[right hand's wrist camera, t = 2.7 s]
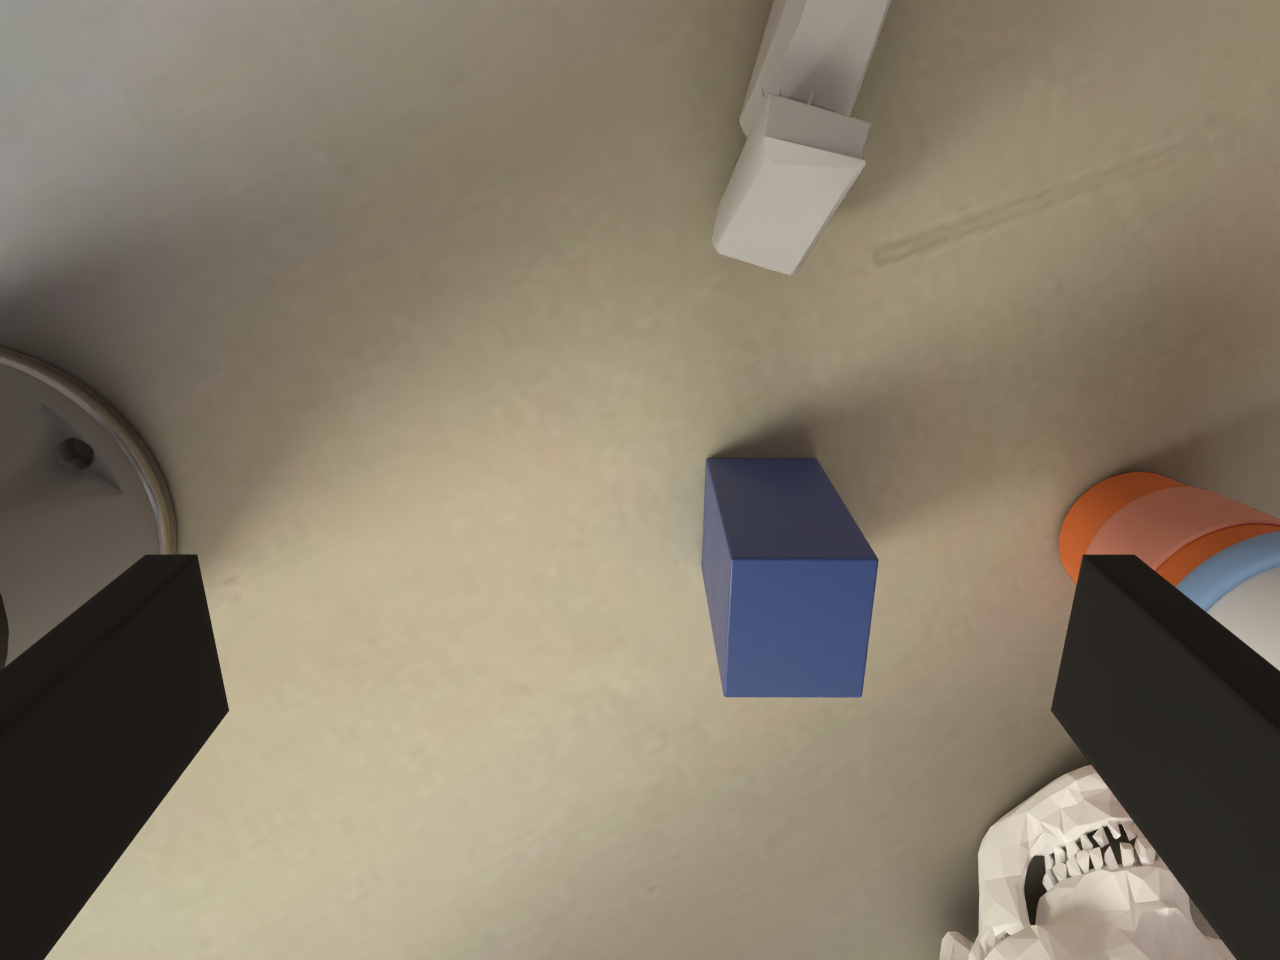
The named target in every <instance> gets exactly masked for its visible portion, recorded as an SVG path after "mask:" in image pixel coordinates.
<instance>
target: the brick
mask: <svg viewBox="0 0 1280 960" xmlns="http://www.w3.org/2000/svg"><path fill="white" fill-rule="evenodd" d="M877 568H878V558H877V556H876V555H875V553H874V552H873V550H872V548H871V547H870V545H869V543H868V542H867V540H866V539H865V537H864V535H863V534H862V532H861V530H860V529H859V527H858V526H857V524H856V522H855V521H854V519H853V517H852V516H851V514H850V512H849V511H848V509H847V508H846V506H845V504H844V503H843V501H842V499H841V498H840V496H839V495H838V493H837V491H836V490H835V488H834V486H833V485H832V483H831V482H830V480H829V478H828V477H827V475H826V473H825V472H824V470H823V468H822V467H821V465H820V464H819V462H818V460H817V459H781V458H707V459H706V471H705V497H704V522H703V548H702V572H703V578H704V584H705V590H706V596H707V601H708V607H709V613H710V619H711V625H712V630H713V636H714V642H715V648H716V654H717V660H718V665H719V671H720V677H721V683H722V689H723V694H724V696H725V697H861V696H862V691H863V683H864V675H865V667H866V658H867V650H868V642H869V634H870V626H871V617H872V609H873V601H874V593H875V584H876V576H877Z"/></svg>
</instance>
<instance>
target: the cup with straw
mask: <svg viewBox="0 0 1280 960" xmlns="http://www.w3.org/2000/svg"><path fill="white" fill-rule="evenodd" d="M1059 554H1060V558H1061V561H1062V564H1063V566H1064V568H1065V570H1066V572H1067V573H1068V574H1069V576H1070V577H1071V579H1072V580H1073V581H1074V583H1075V584H1076V585H1077V581H1078V576H1079V571H1080V566H1081V561H1082V556H1083V555H1136V556H1137V557H1138V558H1140V559H1141V560H1142V561H1143V562H1145V563H1146V564H1147V565H1148V566H1150V567H1151V568H1152V569H1153V570H1154V571H1156V572H1157V573H1158V574H1159V575H1161V576H1162V577H1163V578H1164V579H1166V580H1167V581H1168V582H1169V583H1171V584H1172V585H1173V586H1174V587H1176V588H1177V589H1178V590H1179V591H1181V592H1182V593H1183V594H1184V595H1186V596H1187V597H1188V598H1189V599H1191V600H1192V601H1193V602H1194V603H1196V604H1197V605H1198V606H1199V607H1201V608H1202V609H1203V610H1204V611H1206V612H1207V613H1208V614H1209V615H1211V616H1212V617H1213V618H1214V619H1216V620H1217V621H1218V622H1219V623H1221V624H1222V625H1223V626H1224V627H1226V628H1227V629H1228V630H1229V631H1231V632H1232V633H1233V634H1234V635H1236V636H1237V637H1238V638H1239V639H1241V640H1242V641H1243V642H1244V643H1246V644H1247V645H1248V646H1249V647H1251V648H1252V649H1253V650H1254V651H1256V652H1257V653H1258V654H1259V655H1261V656H1262V657H1263V658H1264V659H1266V660H1267V661H1268V662H1269V663H1271V664H1272V665H1273V666H1274V667H1275V668H1277V669H1278V670H1279V671H1280V520H1279V519H1277V518H1275V517H1272V516H1270V515H1268V514H1265V513H1263V512H1260V511H1258V510H1256V509H1253V508H1251V507H1248V506H1246V505H1244V504H1241V503H1239V502H1236V501H1234V500H1232V499H1229V498H1227V497H1224V496H1222V495H1220V494H1217V493H1215V492H1212V491H1209V490H1205V489H1201V488H1194V487H1189V486H1187V485H1184V484H1182V483H1180V482H1177V481H1175V480H1172V479H1170V478H1168V477H1165V476H1162V475H1159V474H1155V473H1148V472H1131V473H1124V474H1120V475H1116V476H1113V477H1111V478H1108V479H1106V480H1104V481H1102V482H1100V483H1098V484H1096V485H1095V486H1093V487H1092V488H1090V489H1089V490H1088V491H1087V492H1085V493H1084V494H1083V495H1082V496H1081V497H1080V498H1079V499H1078V500H1077V501H1076V502H1075V503H1074V505H1073V506H1072V507H1071V509H1070V510H1069V512H1068V513H1067V515H1066V517H1065V519H1064V522H1063V524H1062V527H1061V530H1060V535H1059Z"/></svg>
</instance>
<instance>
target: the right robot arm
mask: <svg viewBox="0 0 1280 960" xmlns="http://www.w3.org/2000/svg"><path fill="white" fill-rule="evenodd" d="M176 544H177V539H176V522H175V515H174V510H173V506H172V502H171V498H170V495H169V492H168V489H167V486H166V483H165V481H164V479H163V476H162V474H161V472H160V470H159V468H158V466H157V464H156V462H155V460H154V459H153V457H152V455H151V453H150V452H149V450H148V449H147V447H146V446H145V444H144V443H143V442H142V440H141V439H140V437H139V436H138V435H137V434H136V432H135V431H134V430H133V429H132V427H131V426H130V425H129V424H128V423H127V422H126V421H125V419H124V418H123V417H122V416H121V415H120V414H119V413H118V412H117V411H116V410H115V409H114V408H113V407H112V406H110V405H109V404H108V403H107V402H106V401H105V400H104V399H103V398H101V397H100V396H99V395H98V394H96V393H95V392H94V391H92V390H91V389H90V388H88V387H87V386H86V385H84V384H83V383H81V382H80V381H78V380H76V379H75V378H73V377H72V376H70V375H69V374H67V373H65V372H63V371H61V370H59V369H57V368H56V367H54V366H52V365H50V364H47V363H45V362H43V361H40V360H38V359H36V358H34V357H31V356H28V355H25V354H22V353H19V352H16V351H13V350H9V349H5V348H1V347H0V960H44V959H45V957H46V956H47V955H48V953H49V952H50V951H51V949H52V948H53V947H54V945H55V944H56V943H57V941H58V940H59V939H60V937H61V936H62V934H63V933H64V932H65V930H66V929H67V928H68V926H69V925H70V924H71V922H72V921H73V920H74V918H75V917H76V916H77V914H78V913H79V912H80V910H81V909H82V908H83V906H84V905H85V904H86V902H87V901H88V900H89V898H90V897H91V895H92V894H93V893H94V891H95V890H96V889H97V887H98V886H99V885H100V883H101V882H102V881H103V879H104V878H105V877H106V875H107V874H108V873H109V871H110V870H111V869H112V867H113V866H114V865H115V863H116V862H117V861H118V859H119V858H120V857H121V855H122V854H123V852H124V851H125V850H126V848H127V847H128V846H129V844H130V843H131V842H132V840H133V839H134V838H135V836H136V835H137V834H138V832H139V831H140V830H141V828H142V827H143V826H144V824H145V823H146V822H147V820H148V819H149V818H150V816H151V815H152V813H153V812H154V811H155V809H156V808H157V807H158V805H159V804H160V803H161V801H162V800H163V799H164V797H165V796H166V795H167V793H168V792H169V791H170V789H171V788H172V787H173V785H174V784H175V783H176V781H177V780H178V779H179V777H180V776H181V774H182V773H183V772H184V770H185V769H186V768H187V766H188V765H189V764H190V762H191V761H192V760H193V758H194V757H195V756H196V754H197V753H198V752H199V750H200V749H201V748H202V746H203V745H204V744H205V742H206V741H207V740H208V738H209V737H210V736H211V734H212V733H213V731H214V730H215V729H216V727H217V726H218V725H219V723H220V722H221V721H222V719H223V718H224V717H225V715H226V714H227V713H228V711H229V708H228V703H227V698H226V693H225V688H224V684H223V679H222V674H221V669H220V664H219V659H218V654H217V649H216V644H215V639H214V635H213V630H212V625H211V620H210V615H209V610H208V605H207V600H206V595H205V591H204V586H203V581H202V576H201V571H200V566H199V561H198V556H197V555H176ZM1051 711H1052V713H1053V714H1054V715H1055V717H1056V718H1057V719H1058V721H1059V722H1060V723H1061V725H1062V726H1063V727H1064V729H1065V730H1066V731H1067V733H1068V734H1069V736H1070V737H1071V738H1072V740H1073V741H1074V742H1075V744H1076V745H1077V746H1078V748H1079V749H1080V750H1081V752H1082V753H1083V754H1084V756H1085V757H1086V758H1087V760H1088V761H1089V762H1090V764H1091V765H1092V766H1093V768H1094V769H1095V770H1096V772H1097V773H1098V774H1099V776H1100V777H1101V779H1102V780H1103V781H1104V783H1105V784H1106V785H1107V787H1108V788H1109V789H1110V791H1111V792H1112V793H1113V795H1114V796H1115V797H1116V799H1117V800H1118V801H1119V803H1120V804H1121V805H1122V807H1123V808H1124V809H1125V811H1126V812H1127V813H1128V815H1129V816H1130V818H1131V819H1132V820H1133V822H1134V823H1135V824H1136V826H1137V827H1138V828H1139V830H1140V831H1141V832H1142V834H1143V835H1144V836H1145V838H1146V839H1147V840H1148V842H1149V843H1150V844H1151V846H1152V847H1153V848H1154V850H1155V851H1156V852H1157V854H1158V855H1159V857H1160V858H1161V859H1162V861H1163V862H1164V863H1165V865H1166V866H1167V867H1168V869H1169V870H1170V871H1171V873H1172V874H1173V875H1174V877H1175V878H1176V879H1177V881H1178V882H1179V883H1180V885H1181V886H1182V887H1183V889H1184V890H1185V891H1186V893H1187V894H1188V895H1189V897H1190V898H1191V900H1192V901H1193V902H1194V904H1195V905H1196V906H1197V908H1198V909H1199V910H1200V912H1201V913H1202V914H1203V916H1204V917H1205V918H1206V920H1207V921H1208V922H1209V924H1210V925H1211V926H1212V928H1213V929H1214V930H1215V932H1216V933H1217V934H1218V936H1219V937H1220V939H1221V940H1222V941H1223V943H1224V944H1225V945H1226V947H1227V948H1228V949H1229V951H1230V952H1231V953H1232V955H1233V956H1234V957H1235V959H1236V960H1280V671H1279V670H1278V669H1277V668H1275V667H1274V666H1273V665H1272V664H1271V663H1269V662H1268V661H1267V660H1266V659H1264V658H1263V657H1262V656H1261V655H1259V654H1258V653H1257V652H1256V651H1254V650H1253V649H1252V648H1251V647H1249V646H1248V645H1247V644H1246V643H1244V642H1243V641H1242V640H1241V639H1239V638H1238V637H1237V636H1236V635H1234V634H1233V633H1232V632H1231V631H1229V630H1228V629H1227V628H1226V627H1224V626H1223V625H1222V624H1221V623H1219V622H1218V621H1217V620H1216V619H1214V618H1213V617H1212V616H1211V615H1209V614H1208V613H1207V612H1206V611H1204V610H1203V609H1202V608H1201V607H1199V606H1198V605H1197V604H1196V603H1194V602H1193V601H1192V600H1191V599H1189V598H1188V597H1187V596H1186V595H1184V594H1183V593H1182V592H1181V591H1179V590H1178V589H1177V588H1176V587H1174V586H1173V585H1172V584H1171V583H1169V582H1168V581H1167V580H1166V579H1164V578H1163V577H1162V576H1161V575H1159V574H1158V573H1157V572H1156V571H1154V570H1153V569H1152V568H1151V567H1150V566H1148V565H1147V564H1146V563H1145V562H1143V561H1142V560H1141V559H1140V558H1138V557H1137V556H1136V555H1083V556H1082V561H1081V566H1080V571H1079V576H1078V581H1077V586H1076V591H1075V595H1074V600H1073V605H1072V610H1071V615H1070V620H1069V625H1068V630H1067V635H1066V639H1065V644H1064V649H1063V654H1062V659H1061V664H1060V669H1059V674H1058V679H1057V684H1056V688H1055V693H1054V698H1053V703H1052V708H1051Z"/></svg>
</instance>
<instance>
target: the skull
mask: <svg viewBox="0 0 1280 960" xmlns="http://www.w3.org/2000/svg"><path fill="white" fill-rule="evenodd" d="M1118 824H1122V825H1123V827H1124V829H1125V832H1126V834H1127V836H1128V839H1129V841H1130V840H1132V839H1134V838H1135V837H1136V840H1135V846H1134V847H1135V849H1134V852H1133V847H1132V845H1131V844H1130V843H1121V842H1120V848H1121V856H1122V864H1123V865H1122V864H1117V862H1116V860H1115V857H1114V854H1113V852H1112V849H1111V847H1110V846H1109V848H1108V849H1107V851H1106V852H1105V854H1104V861H1105V863H1106V866H1104V864H1103V860H1102V856H1101V851H1100V847H1098V848H1094V849H1093V845H1092V843H1091V842H1090V840H1089V839H1088V837H1087V836H1086V834H1088V833H1090V832H1092V831H1095V830H1097V829H1098V830H1097V832H1096V833H1095V834H1094V835H1093V836H1092V837H1093V838H1094V839H1095V840H1096V841H1097V843H1098V844H1099V845H1100V846H1101V848H1102V847H1104V846H1106V845H1107V844H1109V842H1108V839H1107V837H1106V834H1105V832H1104V829H1103V827H1106V826H1108V828H1109V830H1110V832H1111V833H1112V835H1113V837H1114V838H1115V839H1118V838H1119V837H1120V836H1121V834H1120V830H1119V827H1118ZM1131 825H1132V826H1131ZM1132 827H1133V828H1132ZM1080 840H1081V844H1082V848H1083V850H1080V848H1079V847H1078V845H1077V844H1076V843H1077V842H1079V841H1080ZM1065 847H1066V851H1067V853H1066V852H1065V851H1064V849H1063V848H1065ZM1088 851H1089V852H1088ZM1052 853H1054V854H1055V860H1054V858H1053V857H1052V855H1051V854H1052ZM1034 855H1044V860H1045V868H1046V874H1045V875H1044V878H1043V883H1042V884H1043V885H1044V887H1045V888H1046V890H1047V891H1048V892H1046V893H1045V894H1044V895H1043V896H1042V897H1040V900H1039V903H1038V906H1037V913H1036V922H1035V925H1030V922H1029V917H1028V912H1027V907H1026V902H1025V897H1024V885H1025V879H1026V873H1027V867H1028V865H1029V864H1030V862H1031V860H1032V858H1033V856H1034ZM1090 857H1091V860H1092V863H1093V866H1094V869H1090V870H1089V858H1090ZM1064 863H1066V864H1067V866H1066V865H1065V864H1064ZM1133 863H1134V865H1133ZM978 868H979V934H978V936H977V938H976V940H975V942H974V943H973V942H971V941H970V940H969V939H967V938H966V937H964V936H963V935H961V934H960V933H959V932H952V931H948V932H947V933H946V935H945V936H944V938H943V939H942V944H941V952H940V959H939V960H1236V959H1235V957H1234V956H1233V955H1232V953H1231V952H1230V951H1229V949H1228V948H1227V947H1226V945H1225V944H1224V943H1223V941H1222V940H1221V939H1215V938H1211V937H1208V936H1205V935H1203V934H1202V933H1201V932H1200V931H1199V929H1198V928H1197V927H1196V926H1195V924H1194V922H1193V919H1192V917H1191V914H1190V904H1189V895H1188V894H1187V893H1186V891H1185V890H1184V889H1183V887H1182V886H1181V885H1180V883H1179V882H1178V881H1177V879H1176V878H1175V877H1174V875H1173V874H1172V873H1171V871H1170V870H1169V869H1168V867H1167V866H1166V865H1165V863H1164V862H1163V861H1162V859H1161V858H1160V857H1159V855H1158V854H1157V852H1156V851H1155V850H1154V848H1153V847H1152V846H1151V844H1150V843H1149V842H1148V840H1147V839H1146V838H1145V836H1144V835H1143V834H1142V832H1141V831H1140V830H1139V828H1138V827H1137V826H1136V824H1135V823H1134V822H1133V820H1132V819H1131V818H1130V816H1129V815H1128V813H1127V812H1126V811H1125V809H1124V808H1123V807H1122V805H1121V804H1120V803H1119V801H1118V800H1117V799H1116V797H1115V796H1114V795H1113V793H1112V792H1111V791H1110V789H1109V788H1108V787H1107V785H1106V784H1105V783H1104V781H1103V780H1102V779H1101V777H1100V776H1099V774H1098V773H1097V772H1096V770H1095V769H1094V768H1093V766H1092V765H1087V766H1084V767H1081V768H1079V769H1076V770H1074V771H1071V772H1068V773H1066V774H1064V775H1062V776H1060V777H1059V778H1057V779H1055V780H1053V781H1052V782H1050V783H1049V784H1048V785H1046V786H1045V787H1043V788H1042V789H1041V790H1039V791H1038V792H1036V793H1035V794H1034V795H1032V796H1031V797H1029V798H1028V799H1027V800H1025V801H1024V802H1022V803H1021V804H1019V805H1018V806H1017V807H1015V808H1014V809H1012V810H1011V811H1010V812H1008V813H1007V814H1005V815H1004V816H1003V817H1001V818H1000V819H999V820H998V821H997V822H996V823H995V824H993V825H992V826H991V827H990V829H989V830H988V832H987V833H986V835H985V836H984V838H983V840H982V842H981V846H980V849H979V852H978ZM1052 870H1053V871H1052ZM1070 876H1071V877H1070ZM1058 881H1059V882H1058Z"/></svg>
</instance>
